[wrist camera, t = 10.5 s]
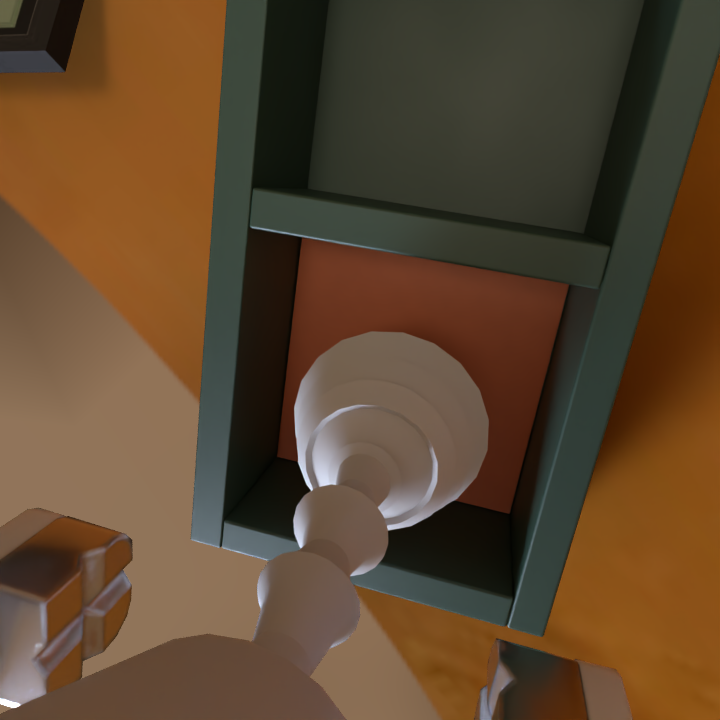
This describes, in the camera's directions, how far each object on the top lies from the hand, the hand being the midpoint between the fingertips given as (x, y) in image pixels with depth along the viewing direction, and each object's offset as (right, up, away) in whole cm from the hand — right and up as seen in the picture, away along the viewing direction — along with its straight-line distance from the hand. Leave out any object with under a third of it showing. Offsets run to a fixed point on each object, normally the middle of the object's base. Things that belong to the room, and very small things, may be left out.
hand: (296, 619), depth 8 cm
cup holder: (+3, +8, +10) cm, 13 cm away
